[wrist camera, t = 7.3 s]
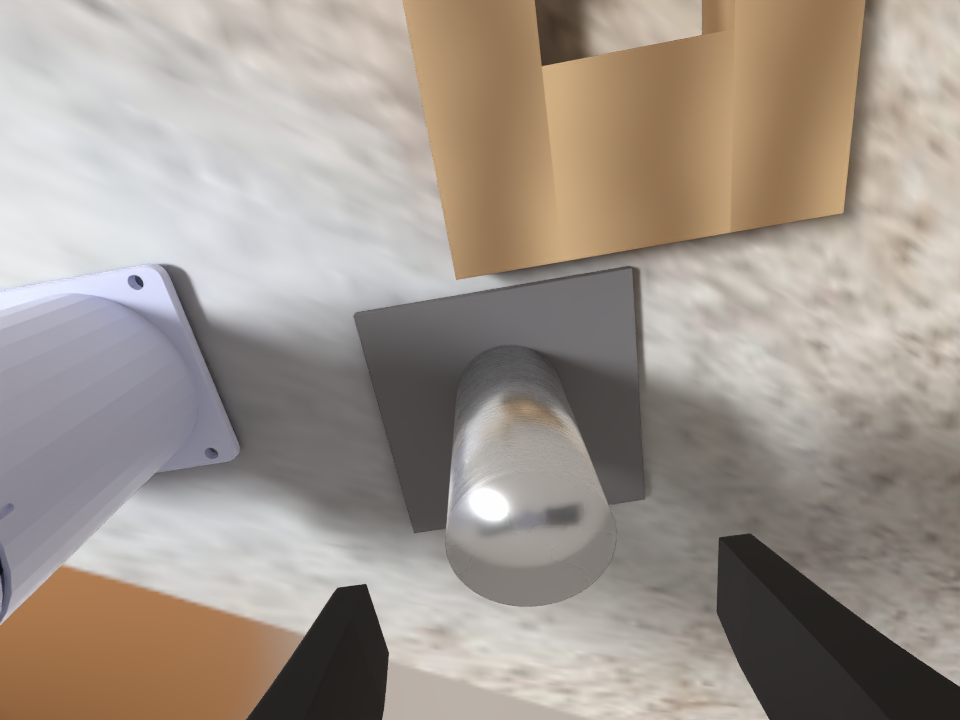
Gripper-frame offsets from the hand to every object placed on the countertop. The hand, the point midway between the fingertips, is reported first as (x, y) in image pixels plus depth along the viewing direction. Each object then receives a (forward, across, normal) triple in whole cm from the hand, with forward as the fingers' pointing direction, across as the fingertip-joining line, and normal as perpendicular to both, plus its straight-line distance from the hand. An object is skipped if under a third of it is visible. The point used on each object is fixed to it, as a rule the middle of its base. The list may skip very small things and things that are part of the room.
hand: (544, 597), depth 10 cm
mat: (+10, 0, +1) cm, 10 cm away
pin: (+10, 0, 0) cm, 10 cm away
